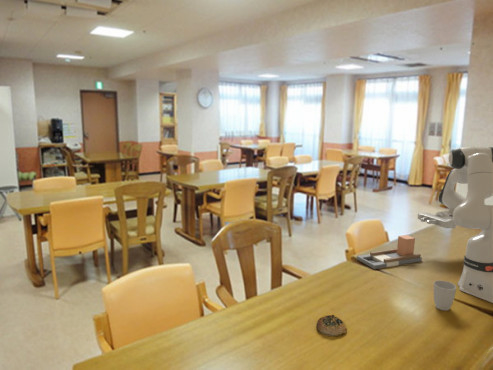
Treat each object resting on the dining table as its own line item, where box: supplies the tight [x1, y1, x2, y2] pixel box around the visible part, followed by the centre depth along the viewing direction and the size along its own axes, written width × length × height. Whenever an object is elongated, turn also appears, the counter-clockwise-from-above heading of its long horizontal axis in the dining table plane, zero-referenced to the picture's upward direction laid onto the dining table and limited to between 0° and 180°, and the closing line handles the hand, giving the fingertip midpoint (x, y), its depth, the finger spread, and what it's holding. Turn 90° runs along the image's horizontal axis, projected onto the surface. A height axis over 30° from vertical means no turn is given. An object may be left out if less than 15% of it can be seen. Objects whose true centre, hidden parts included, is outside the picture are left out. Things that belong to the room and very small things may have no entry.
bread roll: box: [316, 314, 348, 337], centre depth 134 cm, size 11×11×5 cm
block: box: [396, 234, 416, 256], centre depth 203 cm, size 6×6×10 cm
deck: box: [356, 247, 423, 270], centre depth 200 cm, size 14×32×4 cm, turn 111°
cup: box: [433, 280, 457, 312], centre depth 150 cm, size 8×8×10 cm
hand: (424, 221), depth 205 cm, fingers open, 3 cm apart
